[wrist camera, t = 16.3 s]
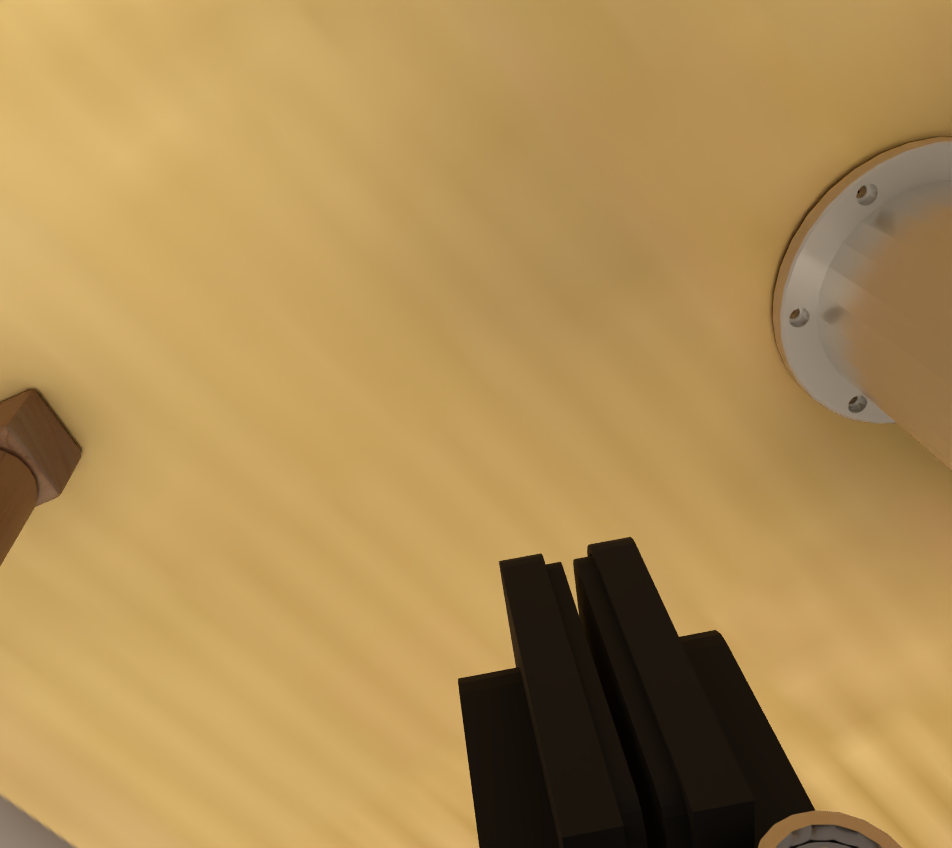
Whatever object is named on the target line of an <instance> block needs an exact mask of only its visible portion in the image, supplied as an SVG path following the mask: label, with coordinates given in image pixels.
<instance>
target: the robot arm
mask: <svg viewBox="0 0 952 848" xmlns="http://www.w3.org/2000/svg"><path fill="white" fill-rule="evenodd" d="M861 187H862V188H861ZM860 188H861V191H860V192H859V194H857V192H858V190H859V189H860ZM794 310H795V312H794V313H793V314H792V315H790V314H791V313H792V312H793V311H794ZM773 326H774V332H775V338H776V345H777V347H778V350H779V352H780V355H781V357H782V360H783V362H784V365H785V367H786V368H787V369H788V371H789V372H790V374H791V375H792V376H793V378H794V379H795V381H796V382H797V384H798V385H799V386H800V387H802V388H803V389H804V390H805V391H806V392H807V393H808V394H809V395H810V396H811V397H812V398H813V399H814V400H815V401H817V402H818V403H820V404H821V405H823V406H824V407H826V408H827V409H828V410H830V411H831V412H833V413H836V414H838V415H841V416H843V417H845V418H848V419H851V420H856V421H862V422H868V423H874V424H891V423H897V424H898V425H900V426H901V427H902V428H903V429H904V430H905V431H907V432H908V433H909V434H910V435H911V436H912V437H914V438H915V439H916V440H917V441H918V442H919V443H920V444H922V445H923V446H924V447H925V448H926V449H927V450H929V451H930V452H931V453H932V454H933V455H934V456H936V457H937V458H938V459H939V460H940V461H941V462H942V463H944V464H945V465H946V466H947V467H948V468H949V469H951V470H952V137H936V138H930V139H925V140H920V141H915V142H909V143H907V144H904V145H902V146H899V147H897V148H894V149H891V150H889V151H886V152H884V153H881V154H879V155H878V156H876V157H874V158H873V159H871V160H869V161H868V162H866V163H864V164H863V165H861V166H859V167H857V168H856V169H854V170H853V171H852V172H850V173H849V174H848V175H847V176H846V177H844V178H843V179H842V180H841V181H840V182H838V183H837V184H836V185H835V186H834V187H832V188H831V189H830V190H829V191H828V192H827V193H826V194H825V196H824V197H823V198H822V199H821V200H820V201H819V202H818V203H817V205H816V206H815V207H814V208H813V209H812V210H811V211H810V213H809V214H808V215H807V217H806V218H805V220H804V221H803V223H802V225H801V226H800V228H799V229H798V231H797V233H796V234H795V236H794V237H793V239H792V241H791V243H790V245H789V248H788V250H787V252H786V255H785V257H784V259H783V262H782V264H781V266H780V270H779V274H778V278H777V283H776V287H775V291H774V300H773ZM587 554H588V557H584V558H578V559H574V561H573V565H574V575H575V583H576V592H577V601H578V609H579V615H578V612H577V609H576V606H575V603H574V600H573V597H572V593H571V590H570V587H569V584H568V581H567V578H566V575H565V572H564V569H563V566H562V563H561V562H557V563H551V564H546V565H545V561H544V558H543V555H542V554H536V555H530V556H525V557H520V558H514V559H509V560H503V561H499V565H500V572H501V578H502V584H503V590H504V596H505V602H506V609H507V615H508V621H509V627H510V633H511V639H512V645H513V651H514V657H515V664H516V668H512V669H507V670H502V671H496V672H491V673H486V674H481V675H475V676H470V677H465V678H459V679H458V685H459V694H460V701H461V709H462V717H463V724H464V732H465V740H466V747H467V755H468V763H469V770H470V778H471V786H472V794H473V801H474V809H475V817H476V824H477V832H478V840H479V847H480V848H902V847H901V846H900V845H899V844H898V843H897V842H896V841H894V840H893V839H892V838H891V837H890V836H889V835H888V834H887V833H885V832H883V831H882V830H880V829H878V828H877V827H875V826H873V825H872V824H870V823H868V822H867V821H865V820H862V819H859V818H856V817H853V816H849V815H846V814H843V813H840V812H828V811H815V809H814V807H813V805H812V803H811V801H810V799H809V798H808V796H807V794H806V792H805V790H804V788H803V786H802V784H801V782H800V781H799V779H798V777H797V775H796V773H795V771H794V769H793V767H792V765H791V764H790V762H789V760H788V758H787V756H786V754H785V752H784V750H783V748H782V747H781V745H780V743H779V741H778V739H777V737H776V735H775V733H774V732H773V730H772V728H771V726H770V724H769V722H768V720H767V718H766V716H765V715H764V713H763V711H762V709H761V707H760V705H759V703H758V701H757V699H756V698H755V696H754V694H753V692H752V690H751V688H750V686H749V684H748V682H747V681H746V679H745V677H744V675H743V673H742V671H741V669H740V667H739V665H738V664H737V662H736V660H735V658H734V656H733V654H732V652H731V650H730V648H729V647H728V645H727V643H726V641H725V640H724V638H723V637H722V635H721V634H720V633H719V632H718V631H716V630H713V631H708V632H703V633H698V634H692V635H687V636H682V637H679V636H678V634H677V632H676V630H675V628H674V626H673V623H672V621H671V619H670V617H669V615H668V613H667V610H666V608H665V606H664V604H663V602H662V600H661V598H660V595H659V593H658V591H657V589H656V587H655V585H654V582H653V580H652V578H651V576H650V574H649V572H648V570H647V567H646V565H645V563H644V561H643V559H642V557H641V554H640V552H639V550H638V548H637V546H636V544H635V542H634V540H633V538H631V537H628V538H622V539H617V540H611V541H606V542H601V543H595V544H590V545H588V548H587Z"/></svg>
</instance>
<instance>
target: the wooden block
mask: <svg viewBox="0 0 952 848" xmlns="http://www.w3.org/2000/svg"><path fill="white" fill-rule="evenodd" d="M80 458H81V452H80V449H79V448H78V447H77V445H76V444H75V443H74V441H73V440H72V439H71V437H70V436H69V435H68V433H67V432H66V431H65V429H64V428H63V427H62V425H61V424H60V423H59V421H58V420H57V419H56V417H55V416H54V415H53V413H52V412H51V411H50V409H49V408H48V407H47V405H46V404H45V403H44V401H43V400H42V399H41V397H40V396H39V395H38V393H37V392H35V391H34V390H31V391H26V392H23V393H21V394H19V395H17V396H15V397H12V398H10V399H8V400H6V401H4V402H2V403H0V566H1V564H2V562H3V561H4V559H5V557H6V555H7V554H8V552H9V550H10V549H11V547H12V545H13V543H14V542H15V540H16V538H17V537H18V535H19V533H20V531H21V530H22V528H23V526H24V525H25V523H26V521H27V519H28V518H29V516H30V514H31V513H32V511H33V509H34V507H36V506H38V505H41V504H43V503H45V502H47V501H50V500H52V499H54V498H56V497H58V496H59V495H60V494H61V493H62V491H63V489H64V487H65V486H66V484H67V482H68V480H69V478H70V476H71V475H72V473H73V471H74V469H75V467H76V466H77V464H78V462H79V460H80Z"/></svg>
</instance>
